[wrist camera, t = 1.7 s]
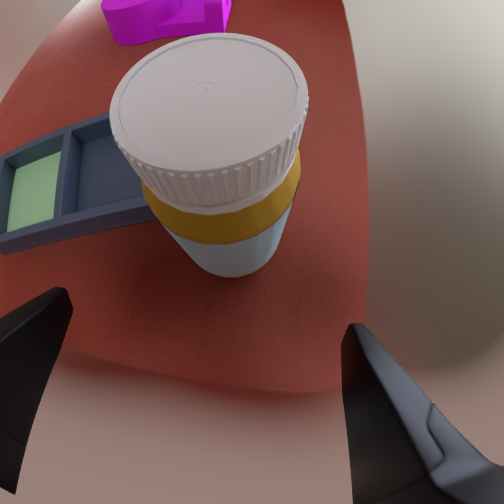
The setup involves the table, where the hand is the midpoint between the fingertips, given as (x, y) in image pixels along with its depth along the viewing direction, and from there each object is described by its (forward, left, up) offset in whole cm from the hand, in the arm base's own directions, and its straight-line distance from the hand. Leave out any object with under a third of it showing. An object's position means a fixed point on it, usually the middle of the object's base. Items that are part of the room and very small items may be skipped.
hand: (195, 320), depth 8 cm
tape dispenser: (+38, +3, -13) cm, 40 cm away
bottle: (+6, -1, -13) cm, 15 cm away
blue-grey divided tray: (+14, +12, -13) cm, 22 cm away
